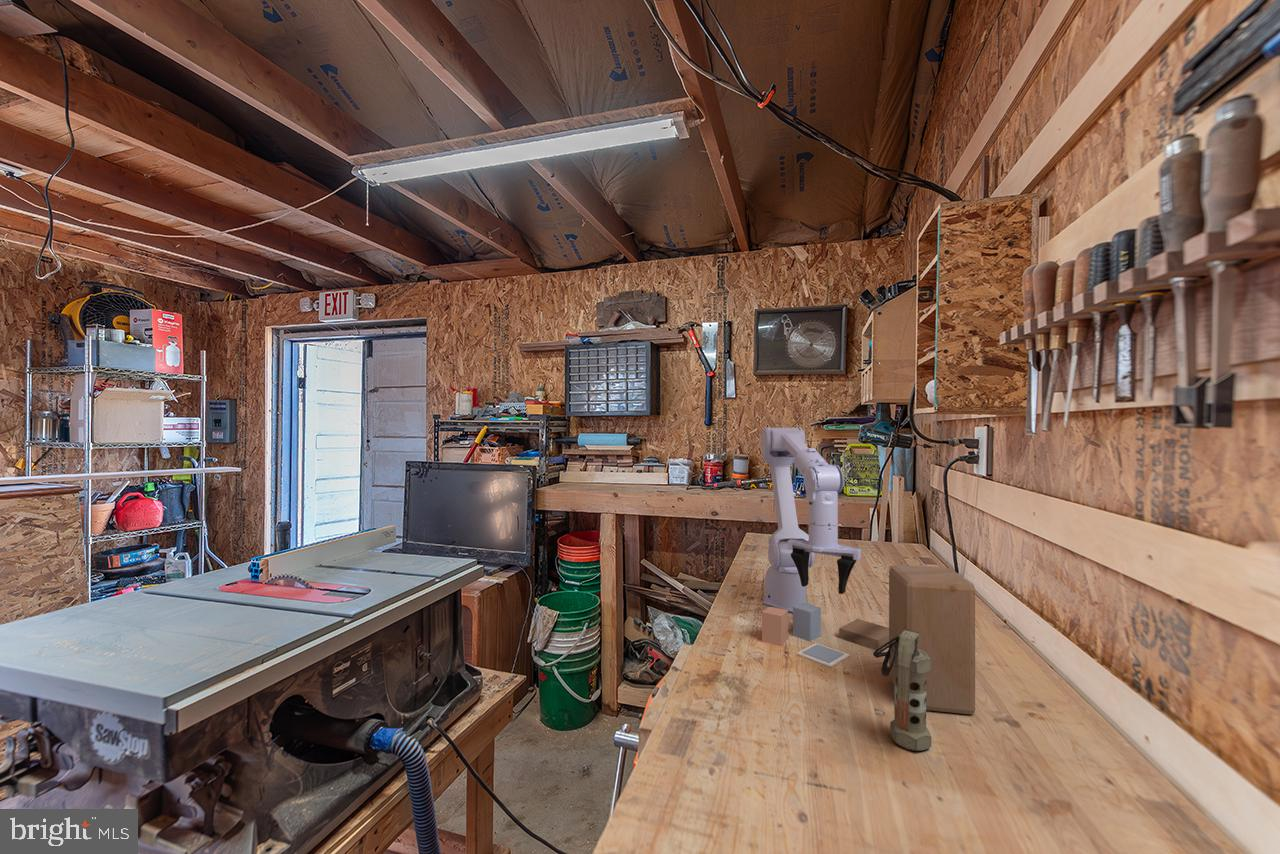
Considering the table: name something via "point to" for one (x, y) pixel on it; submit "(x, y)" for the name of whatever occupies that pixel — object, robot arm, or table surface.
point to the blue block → (806, 621)
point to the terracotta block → (775, 626)
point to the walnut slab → (865, 634)
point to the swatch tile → (823, 655)
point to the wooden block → (938, 630)
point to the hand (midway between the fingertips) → (823, 589)
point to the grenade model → (908, 690)
